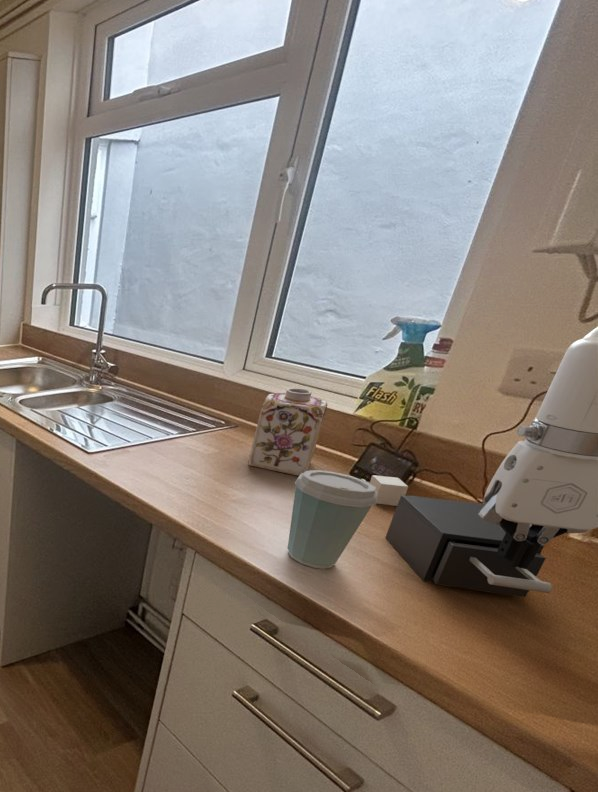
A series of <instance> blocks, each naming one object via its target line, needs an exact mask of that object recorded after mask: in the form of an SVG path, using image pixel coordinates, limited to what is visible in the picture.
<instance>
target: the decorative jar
mask: <svg viewBox="0 0 598 792" xmlns="http://www.w3.org/2000/svg"><path fill="white" fill-rule="evenodd" d="M328 405H329V404H328V402H327V401H325V400H323V399H321V398H318V397H315V396H312V391H311V390H309V389H306V388H300V387H290V388H287V389H286V391H285V392H276V393H269V394H268V395H267V396H266V397H265V398H264V401H263V404H262V405H261V408H260V411H259V416H258V420H257V424H256V428H255V433H254V436H253V441H252V445H251V449H250V454H249V459H248V462H247V465H248V466H250V467H256V468H260V469H264V470H270V471H274V472H279V473H283V474H287V475H288V474H289V475H294V476H298V477H299V475H300V474H301V473H304V472H305V471H309V468H310V466H311V462H312V459H313V457H314V454H315V450H316V447H317V443H318V440H319V437H320V434H321V430H322V426H323V421H324V419H325V415H326V412H328V411H327V409H328Z"/></svg>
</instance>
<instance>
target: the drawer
mask: <svg viewBox="0 0 598 792" xmlns="http://www.w3.org/2000/svg"><path fill="white" fill-rule="evenodd" d="M499 546H500V545H495V544H487V543H479V542H472V541H464V540H456V539H449V538H447V541H446V544H445V546H444V548H443V551H442V553H441V555H440V558H439V560H438V562H437V565H436V567H435V569H434V572H433V573H434V574H435V576H434V578H433V581H434V582H433V583H435V585H440V586H445V587H446V586H447V587H453V588H458V589H459V588H461V589H467V590H473V591H479V592H487V593H493V594H500V595H506V596H512V597H518V598H519V597H520V598H526V597H527V595H528V594H529V592H530V591H533V592H538V593H539V592H540V593H546V594H550V593H551V592H552V590H553V585H552V584H551V582H547V581H542V580H540V579H539V578H538V577H537V576H538V575H539V572H540V570H541V569H542V566H543V565H544V563H545V562H546V559H547V557H545V556H544V555H543V554H542V553H541V554H538V553H536V555H535V557H534V559H533V560H532V561H531V562H530V564H529V565H528V567H527V569H522V568H519V567H510V566H508V565H507V564H506V563H505V562H504V561H502V560H501V559H500V558H499V557H498V552H497V551H498V548H499Z"/></svg>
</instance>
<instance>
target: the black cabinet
mask: <svg viewBox="0 0 598 792" xmlns="http://www.w3.org/2000/svg"><path fill="white" fill-rule="evenodd" d="M484 506H485V505H484V503H478V502H471V501H463V500H462V501H460V500H452V499H443V498H436V497H435V498H434V497H426V496H425V497H424V496H417V495H401V497H400V500H399V502H398V505H397V506H396V508H395V510H394V514H393V516H392V518H391V521H390V525H389V526H388V528H387V529H388V530H387V532H386V534H385V539H386V540H387V542H388V543H389V544H390V545H391V546H392V547H393V548H394V549H395V551H396V552H397V553H398V554H399V555H400V556H401V557H402V558H403V560H404V561H405V562H406V563H407V564H408V565H409V567H410V568H411V569H412V570H413V571H414V572H415V573H416V574H417V576H418V577H419V578H420V579H421V581H423V582H428V583H435V582H434V581H433V578H434V576H435V574H434V573H433V572H434V569H435V567H436V565H437V562H438V560H439V558H440V555H441V553H442V551H443V548H444V546H445V544H446V541H447V538H449V539H456V540H464V541H472V542H479V543H487V544H495V545H500V544H501V542H502V540H503V538H504V536H505V534H506V532H505V531H503V530H502V528H501V526H500V525H497V524H494V523H491V522H488V521H485V520H483V519H482V518H481V517H480V516H479V515H478V513H479V512H480V511H481V510H482V508H483V507H484ZM544 548H545V545H544V544H541V545H540V547H539V549H538V551H537V553H538V554H541V555H542V551H543V550H544Z"/></svg>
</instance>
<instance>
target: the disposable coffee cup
mask: <svg viewBox="0 0 598 792" xmlns="http://www.w3.org/2000/svg"><path fill="white" fill-rule="evenodd" d="M294 485H295V489H294V498H293V504H292V512H291V519H290V527H289V534H288V541H287V542H288V543H287V550H288V554H289V557H291V559H293V560H294V561H296V562H298V563H299V564H301V565H305V566H307V567H310V568H314V569H322V570H326V569H330V568H332V567H333V566H334V565H336V563H337V562H338V560H339V559H340V557H341V555H342V554H343V552H344V551H345V549H346V547H347V546H348V544H349V543H350V541H351V540H352V538H353V537H354V535H355V534H356V532H357V530H358V528H359V527H360V526H361V523H362V522H363V521H364V519H365V518H366V516H367V514H368V513H369V511H370V510H371V508H372V507H373V506H376V505H377V504H376V502H377V495H378V493H377V492H376V491H375V490H376V487H375V486H373V485H371V484H370V482H369V481H367V480H364V479H361V478H358V477H356V476H353V475H351V474H350V475H349V474H345V473H340V472H337V471H330V470H321V469H313V470H308V471H305V472H304V473H301V474H300V475H299V476H298V477H297V479H296V480H295V482H294Z"/></svg>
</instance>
